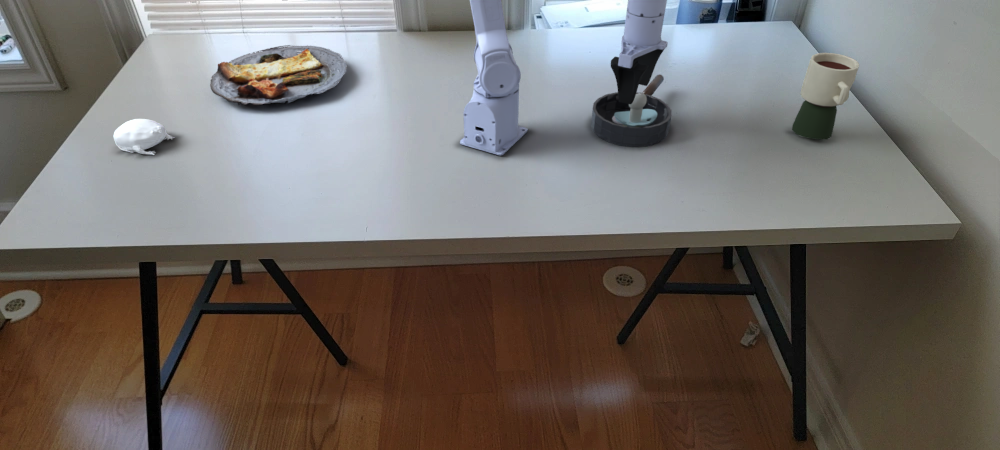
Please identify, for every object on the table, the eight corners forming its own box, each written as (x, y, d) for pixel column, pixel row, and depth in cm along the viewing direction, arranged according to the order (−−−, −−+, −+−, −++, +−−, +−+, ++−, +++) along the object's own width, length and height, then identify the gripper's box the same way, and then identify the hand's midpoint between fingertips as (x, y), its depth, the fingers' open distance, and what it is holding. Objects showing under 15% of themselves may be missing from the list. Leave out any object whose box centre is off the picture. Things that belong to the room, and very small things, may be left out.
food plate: (218, 122, 112) (213, 103, 110) (207, 70, 129) (202, 53, 127) (360, 95, 120) (358, 77, 118) (332, 49, 137) (330, 33, 135)
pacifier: (605, 118, 113) (618, 134, 108) (608, 84, 109) (622, 99, 105) (644, 113, 114) (659, 129, 110) (649, 80, 111) (664, 94, 106)
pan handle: (646, 104, 114) (647, 96, 113) (637, 102, 114) (638, 94, 113) (664, 82, 121) (665, 74, 120) (655, 80, 121) (657, 72, 120)
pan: (654, 154, 104) (657, 135, 102) (579, 135, 109) (580, 116, 107) (677, 120, 113) (681, 102, 111) (607, 103, 118) (609, 85, 116)
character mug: (846, 150, 105) (875, 75, 97) (803, 151, 105) (828, 76, 97) (816, 118, 114) (840, 47, 106) (777, 119, 114) (797, 48, 106)
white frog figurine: (179, 136, 108) (172, 116, 106) (154, 157, 103) (146, 136, 101) (137, 131, 110) (129, 111, 107) (110, 151, 104) (101, 131, 102)
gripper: (656, 31, 92) (642, 116, 101) (685, 1, 102) (670, 81, 111) (609, 22, 95) (600, 106, 103) (642, -6, 105) (631, 72, 113)
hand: (633, 92), depth 107 cm, fingers open, 7 cm apart
